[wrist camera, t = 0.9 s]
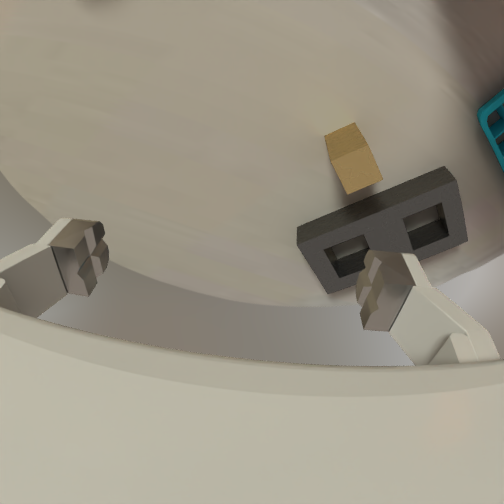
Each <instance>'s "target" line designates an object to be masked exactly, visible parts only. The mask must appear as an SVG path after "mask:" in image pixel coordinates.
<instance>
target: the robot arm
mask: <svg viewBox="0 0 504 504" xmlns="http://www.w3.org/2000/svg"><path fill="white" fill-rule="evenodd" d="M104 235H105V231H104V227H103V224H102V223H101V222H100V221H91V220H82V219H73V218H60V219H59V220H58V221H57V222H56V223H55V224H54V225H53V226H52V227H51V228H50V230H48V231H47V232H46V233H45V234H44V236H43V237H42V238H41V239H40V240H39V241H38V242H37V243H36V244H31V245H28V246H26V247H24V248H22V249H20V250H18V251H16V252H14V253H12V254H10V255H8V256H6V257H4V258H2V259H0V504H504V359H501V358H500V356H499V354H498V352H497V350H496V347H495V345H494V343H493V340H492V338H491V336H490V334H489V332H488V331H487V330H486V329H485V328H484V327H482V326H481V325H480V324H479V323H478V322H477V321H476V320H474V319H473V318H472V317H471V316H469V315H468V314H467V313H466V312H465V311H464V310H462V309H461V308H460V307H459V306H457V305H456V304H455V303H454V302H453V301H452V300H450V299H449V298H448V297H447V296H445V295H444V294H443V293H441V292H440V291H439V290H438V289H437V288H432V287H431V285H430V283H429V281H428V279H427V277H426V275H425V273H424V271H423V269H422V267H421V265H420V263H419V261H418V259H417V257H416V256H415V255H414V254H410V253H396V252H386V251H376V250H368V252H367V254H366V256H365V259H364V264H365V267H366V268H365V269H364V270H362V271H361V272H360V273H359V276H358V279H357V284H356V298H357V303H358V304H359V305H361V306H362V309H361V312H360V316H361V320H362V325H363V329H364V330H375V331H388V332H389V334H390V335H391V336H392V337H393V339H394V340H395V341H396V342H397V343H398V345H399V346H400V347H401V348H402V350H403V351H404V352H405V353H406V355H407V356H408V357H409V358H410V360H411V361H412V362H413V363H414V365H415V366H337V365H315V364H314V365H313V364H298V363H284V362H272V361H262V360H252V359H243V358H234V357H226V356H218V355H210V354H203V353H195V352H189V351H183V350H177V349H170V348H164V347H159V346H153V345H148V344H142V343H137V342H132V341H127V340H122V339H118V338H113V337H108V336H104V335H99V334H95V333H91V332H87V331H83V330H78V329H74V328H70V327H67V326H63V325H59V324H55V323H52V322H48V321H45V320H41V319H38V318H37V317H38V316H40V315H41V314H42V313H44V312H45V311H46V310H47V309H49V308H50V307H51V306H53V305H54V304H55V303H57V302H58V301H59V300H61V299H62V298H63V297H65V296H66V295H67V293H69V294H75V295H81V296H87V297H89V296H90V294H91V293H92V291H93V289H94V288H95V286H96V284H97V279H96V277H98V276H100V275H101V274H103V273H104V271H105V270H106V268H107V265H108V261H109V250H108V245H107V244H106V243H105V242H104V241H103V239H102V238H103V237H104Z"/></svg>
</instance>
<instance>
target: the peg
mask: <svg viewBox="0 0 504 504" xmlns="http://www.w3.org/2000/svg"><path fill="white" fill-rule="evenodd" d="M324 137H325V141H326V144H327V148H328V153H329V157H330V161H331V163H332V165H333V167H334V169H335V171H336V173H337V175H338V177H339V179H340V181H341V183H342V185H343V187H344V189H345V191H346V193H347V195H348V194H350V193H353V192H355V191H357V190H360V189H362V188H364V187H367V186H369V185H372V184H374V183H376V182H379V181H381V180H383V178H382V175H381V173H380V171H379V168H378V166H377V164H376V161H375V159H374V157H373V154H372V152H371V150H370V148H369V146H368V144H367V142H366V140H365V139H364V137H363V135H362V134H361V132H360V130H359V129H358V127H357V126H356V124H355V122H354V123H352V124H350V125H347V126H345V127H343V128H341V129H338V130H336V131H334V132H332V133H330V134H328V135H325V136H324Z"/></svg>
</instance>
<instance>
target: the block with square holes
mask: <svg viewBox="0 0 504 504" xmlns="http://www.w3.org/2000/svg"><path fill="white" fill-rule="evenodd" d="M434 205H436V206H437V210H438V214H439V218H440V219H439V220H437V221H435V222H432V223H430V224H427V225H425V226H422V227H420V228H417V229H415V230H412V231H410V232H407V230H406V227H405V224H404V221H403V218H405V217H407V216H410V215H412V214H415V213H417V212H419V211H422V210H424V209H427V208H429V207H432V206H434ZM362 234H364V237H365V239H366V241H367V243H368V245H369V248H367V249H364V250H361V251H359V252H356V253H354V254H351V255H348V256H346V257H343V258H340V259H338V260H337V258H336V256H335V254H334V253H333V251H332V249H331V247H332V246H334V245H337V244H339V243H342V242H344V241H347V240H349V239H352V238H355V237H357V236H360V235H362ZM467 241H468V237H467V231H466V225H465V219H464V214H463V208H462V203H461V198H460V194H459V189H458V185H457V180H456V179H455V178H454V177H453V175H452V174H451V173H450V172H449V171H448V170H447V169H446V167H445V166H443V167H441V168H438V169H436V170H434V171H431V172H429V173H426V174H424V175H421V176H419V177H417V178H414V179H412V180H409V181H407V182H404V183H402V184H400V185H397V186H395V187H392V188H390V189H388V190H385V191H383V192H380V193H378V194H375V195H373V196H371V197H368V198H366V199H363V200H361V201H359V202H356V203H354V204H351V205H349V206H347V207H344V208H342V209H339V210H337V211H335V212H332V213H330V214H327V215H325V216H323V217H320V218H318V219H315V220H313V221H311V222H308V223H306V224H303V225H301V226H299V227H297V246H298V248H299V249H300V251H301V252H302V254H303V256H304V257H305V259H306V260H307V262H308V263H309V265H310V267H311V268H312V270H313V271H314V273H315V274H316V276H317V278H318V279H319V281H320V282H321V284H322V286H323V287H324V289H325V291H326V292H327V294H330V293H333V292H336V291H339V290H342V289H344V288H347V287H350V286H353V285H356V284H357V279H358V276H359V273H360V272H361V271H362V270H364V269H365V268H366V267H365V264H364V259H365V256H366V254H367V252H368V250H376V251H386V252H396V253H410V254H414V255H415V256H416V257H417V259H418V261H420V260H423V259H425V258H428V257H430V256H433V255H435V254H438V253H440V252H443V251H445V250H448V249H450V248H452V247H455V246H457V245H460V244H462V243H464V242H467Z"/></svg>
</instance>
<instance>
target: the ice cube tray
mask: <svg viewBox="0 0 504 504" xmlns="http://www.w3.org/2000/svg"><path fill="white" fill-rule="evenodd" d="M503 103H504V89H503V90H501V91H500V92H499V93H498V94H497V95H495V96H494V97H493V98H492V99H491V100H489V101H488V102H487V103H486V104H485V105H483V106H482V107H481V108H480V109H478V113H477V116H478V120H479V123H480V125H481V127H482V129H483V131H484V133H485V135H486V136H487V138H488V140H489V142H490V144H491V146H492V148H493V150H494V152H495V155H496V157H497V159H498V161H499V163H500V165H501V167H502V170H503V172H504V140H503V141H502V142H501V143H500V144H499V145H497V143H496V141H495V139H496V138H498V137H499V136H500V135H501V134H502V133H504V107H503V105H502V104H503ZM495 110H497V112H498V114H499V116H500V119H499V120H498V121H496V122H495V123H494V124H493V125H492V126H490V127H488V123H487V118H488V115H490V114H491V113H492V112H493V111H495Z"/></svg>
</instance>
